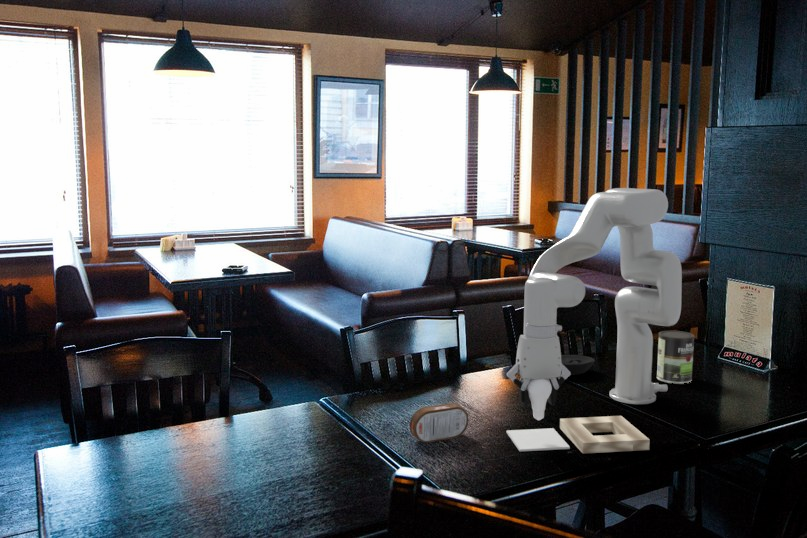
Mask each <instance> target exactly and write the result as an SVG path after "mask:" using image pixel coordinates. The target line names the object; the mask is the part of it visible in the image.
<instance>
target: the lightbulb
mask: <svg viewBox="0 0 807 538" xmlns="http://www.w3.org/2000/svg"><path fill="white" fill-rule="evenodd" d="M526 390H527V391H528V399H529V400H530V402H531V409H532V415H533V418H534V419H535V420H537V421H541V420H542V419H544V418H545V410H546V405H547V402H548V398H549V396H550V394H551V391H552V386H551V383H550V381H549V379H530V380H529V383H528V385H527V387H526Z"/></svg>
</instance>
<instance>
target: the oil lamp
mask: <svg viewBox="0 0 807 538" xmlns="http://www.w3.org/2000/svg"><path fill="white" fill-rule="evenodd" d="M595 362H596V360H595V358H593V357H592V356H586V355H581V354H561V363H562V364H563V365H564V366H565V367H566V368H567V369H568V370H569V371H570V372H571V374H570V376H574V375H575V376H576V375H581V374H584V373H586V372H588V371H589V369H591V367H592V366H593V365H594V364H595ZM561 374H562V371H561Z"/></svg>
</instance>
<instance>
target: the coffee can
mask: <svg viewBox="0 0 807 538" xmlns="http://www.w3.org/2000/svg"><path fill="white" fill-rule="evenodd" d="M694 345H695V334H693V333H692V332H688V331H682V330H681V331H680V330H662V331H659V332H658V344H657V363H656V364H657V366H656V367H657V370H656V379H657V380H658V381H660V382H664V383H668V384H672V383H673V384H674V385H685V384H684V383H687V384H690V383H692V382H691V381H693V366H694V365H693V364H694V349H695V348H694V347H695V346H694ZM689 382H690V383H689Z"/></svg>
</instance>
